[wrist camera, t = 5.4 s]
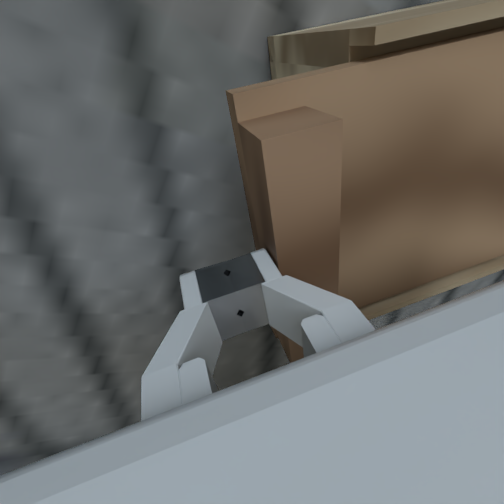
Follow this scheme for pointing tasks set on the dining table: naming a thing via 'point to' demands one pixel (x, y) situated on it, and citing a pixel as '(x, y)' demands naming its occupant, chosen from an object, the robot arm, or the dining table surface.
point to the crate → (378, 43)
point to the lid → (377, 168)
